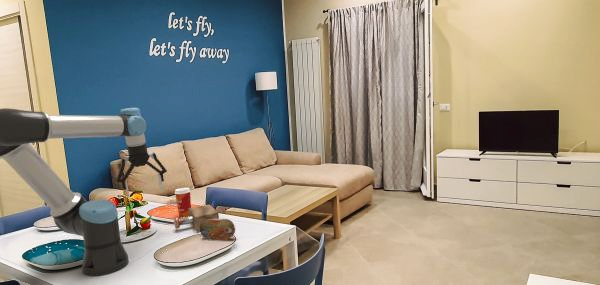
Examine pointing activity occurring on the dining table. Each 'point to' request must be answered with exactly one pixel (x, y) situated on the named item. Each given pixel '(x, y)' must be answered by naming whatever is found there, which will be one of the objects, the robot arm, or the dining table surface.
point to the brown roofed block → (182, 221)
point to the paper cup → (183, 201)
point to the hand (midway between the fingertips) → (145, 192)
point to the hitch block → (202, 215)
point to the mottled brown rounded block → (217, 229)
